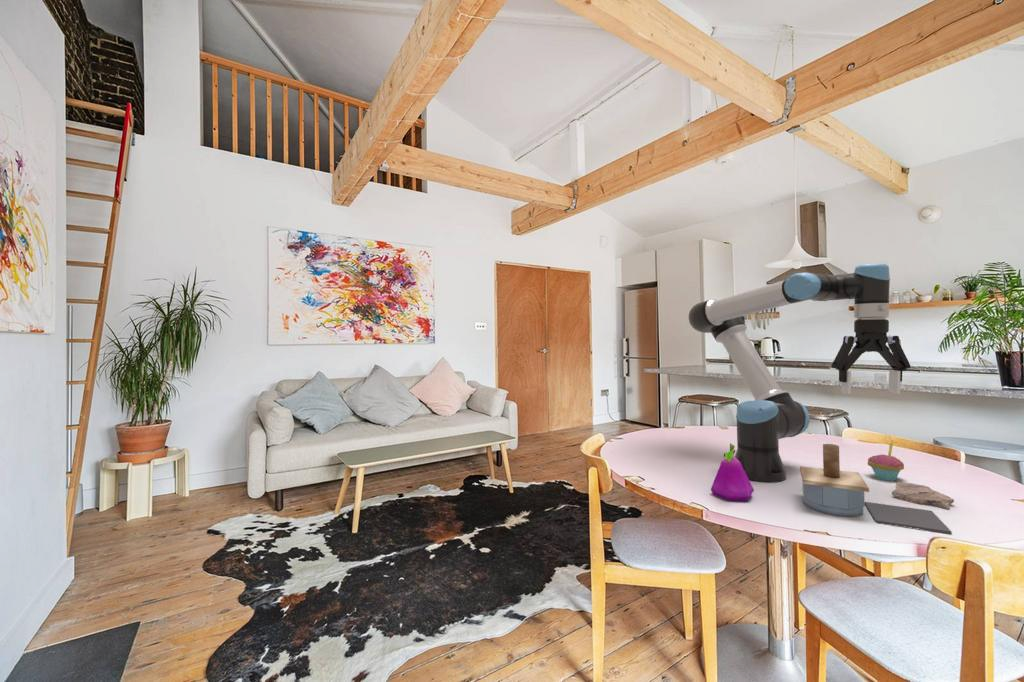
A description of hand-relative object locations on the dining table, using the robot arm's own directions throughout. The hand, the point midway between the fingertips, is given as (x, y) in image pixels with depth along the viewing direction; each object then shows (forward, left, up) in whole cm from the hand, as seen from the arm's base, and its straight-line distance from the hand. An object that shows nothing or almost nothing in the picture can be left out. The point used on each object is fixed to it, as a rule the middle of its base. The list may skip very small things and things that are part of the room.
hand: (870, 393), depth 121 cm
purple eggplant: (-34, -22, -28) cm, 49 cm away
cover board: (-11, -19, -21) cm, 30 cm away
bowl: (-11, -19, -28) cm, 35 cm away
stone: (+10, -2, -29) cm, 30 cm away
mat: (+3, -19, -28) cm, 34 cm away
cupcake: (+6, +15, -28) cm, 32 cm away
